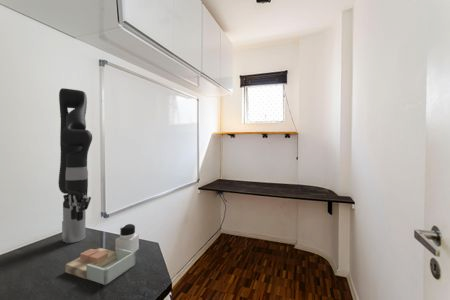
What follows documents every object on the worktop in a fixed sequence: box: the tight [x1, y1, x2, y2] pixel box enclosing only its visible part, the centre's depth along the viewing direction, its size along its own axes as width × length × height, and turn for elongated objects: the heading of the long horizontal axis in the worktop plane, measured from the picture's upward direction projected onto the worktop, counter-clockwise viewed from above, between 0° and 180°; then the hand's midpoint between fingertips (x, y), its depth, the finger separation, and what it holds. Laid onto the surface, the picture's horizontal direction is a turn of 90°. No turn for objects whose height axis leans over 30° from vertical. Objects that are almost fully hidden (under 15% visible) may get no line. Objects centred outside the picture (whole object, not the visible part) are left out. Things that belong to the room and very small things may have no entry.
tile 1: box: [79, 248, 99, 261], centre depth 84 cm, size 4×4×2 cm
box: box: [85, 248, 136, 286], centre depth 80 cm, size 9×14×5 cm
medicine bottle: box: [115, 223, 140, 253], centre depth 94 cm, size 7×7×12 cm
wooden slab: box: [64, 247, 116, 280], centre depth 83 cm, size 11×14×3 cm
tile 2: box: [89, 251, 108, 264], centre depth 82 cm, size 4×4×2 cm
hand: (76, 219), depth 86 cm, fingers open, 2 cm apart
